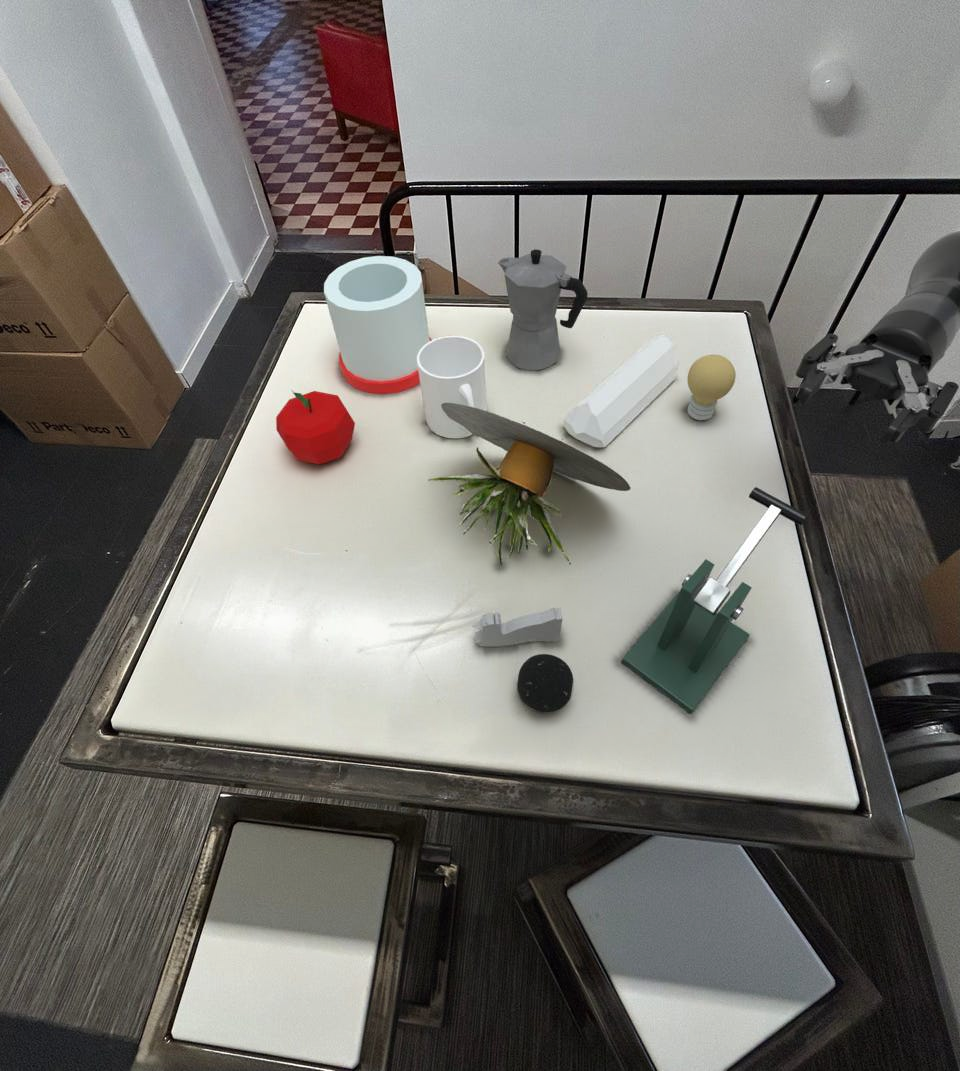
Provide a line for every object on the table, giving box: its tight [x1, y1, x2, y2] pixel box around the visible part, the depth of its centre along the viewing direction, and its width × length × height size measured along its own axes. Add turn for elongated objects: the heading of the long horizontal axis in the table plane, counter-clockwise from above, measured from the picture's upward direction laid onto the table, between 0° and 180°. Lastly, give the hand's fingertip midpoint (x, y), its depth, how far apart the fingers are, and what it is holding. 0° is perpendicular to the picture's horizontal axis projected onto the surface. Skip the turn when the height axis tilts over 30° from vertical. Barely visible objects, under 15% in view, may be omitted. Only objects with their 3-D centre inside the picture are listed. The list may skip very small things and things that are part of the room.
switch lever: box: [694, 486, 809, 616], centre depth 60 cm, size 13×6×2 cm, turn 137°
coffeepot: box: [497, 248, 589, 372], centre depth 95 cm, size 15×9×18 cm, turn 55°
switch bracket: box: [621, 558, 753, 715], centre depth 64 cm, size 12×9×14 cm
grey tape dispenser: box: [471, 607, 564, 648], centre depth 69 cm, size 6×1×10 cm
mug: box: [417, 335, 488, 439], centre depth 89 cm, size 10×12×12 cm
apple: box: [275, 390, 356, 465], centre depth 88 cm, size 11×11×10 cm
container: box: [323, 255, 433, 395], centre depth 97 cm, size 16×16×15 cm
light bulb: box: [686, 353, 736, 421], centre depth 89 cm, size 6×6×10 cm
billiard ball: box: [516, 653, 575, 714], centre depth 65 cm, size 6×6×6 cm
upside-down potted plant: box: [427, 403, 631, 567], centre depth 76 cm, size 25×18×25 cm
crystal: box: [562, 334, 680, 448], centre depth 92 cm, size 7×7×24 cm
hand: (843, 417), depth 62 cm, fingers open, 8 cm apart
